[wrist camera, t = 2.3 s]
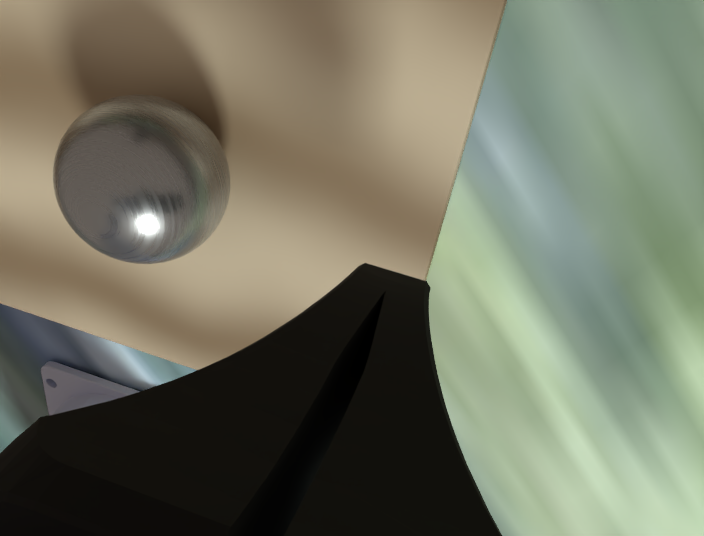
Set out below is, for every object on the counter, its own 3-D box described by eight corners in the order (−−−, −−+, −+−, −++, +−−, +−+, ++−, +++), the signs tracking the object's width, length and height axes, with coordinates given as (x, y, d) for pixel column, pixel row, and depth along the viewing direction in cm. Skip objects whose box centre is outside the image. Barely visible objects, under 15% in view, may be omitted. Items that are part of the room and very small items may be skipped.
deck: (396, 380, 22) (380, 431, 20) (-197, 188, 25) (-263, 214, 23) (551, -155, 13) (551, -163, 11) (-408, -338, 16) (-546, -370, 14)
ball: (251, 234, 17) (179, 317, 14) (123, 196, 17) (25, 267, 14) (262, 97, 15) (179, 156, 11) (115, 58, 15) (-4, 104, 12)
